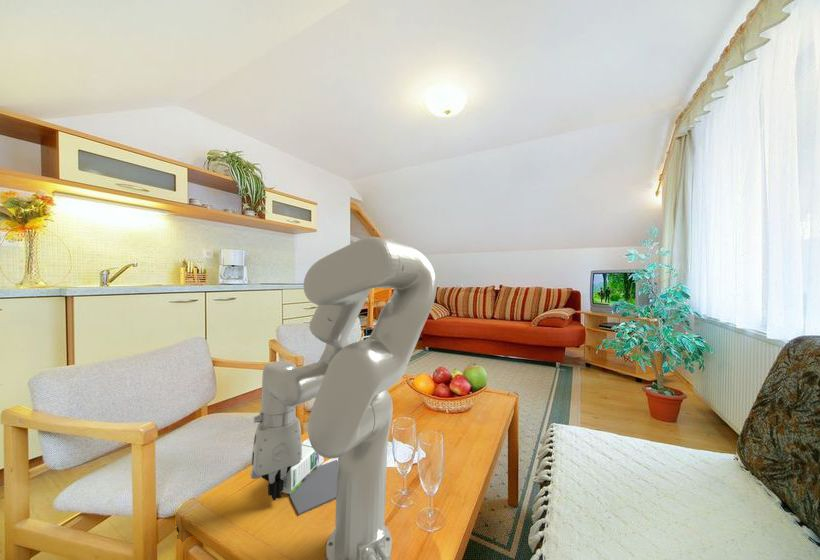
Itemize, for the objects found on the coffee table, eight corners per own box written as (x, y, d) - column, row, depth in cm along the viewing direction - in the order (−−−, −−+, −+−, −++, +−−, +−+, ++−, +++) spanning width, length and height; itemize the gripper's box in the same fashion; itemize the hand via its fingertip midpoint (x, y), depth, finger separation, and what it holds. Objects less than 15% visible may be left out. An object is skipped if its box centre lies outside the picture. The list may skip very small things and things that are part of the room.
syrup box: (291, 470, 70) (325, 441, 84) (271, 465, 72) (308, 437, 86) (290, 495, 70) (325, 461, 84) (270, 489, 72) (307, 457, 86)
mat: (359, 488, 74) (359, 486, 74) (298, 515, 65) (298, 513, 65) (336, 461, 85) (336, 459, 85) (281, 481, 76) (281, 479, 76)
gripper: (245, 431, 61) (241, 521, 61) (315, 414, 70) (312, 491, 70) (239, 418, 67) (235, 500, 66) (305, 403, 76) (302, 475, 76)
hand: (275, 495), depth 68 cm, fingers closed
